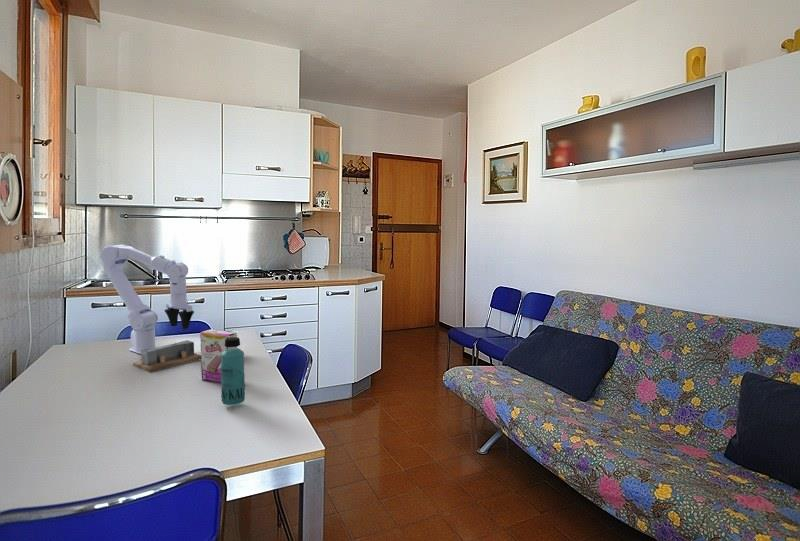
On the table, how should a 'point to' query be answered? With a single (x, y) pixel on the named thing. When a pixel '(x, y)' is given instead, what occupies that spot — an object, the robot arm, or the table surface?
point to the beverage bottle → (232, 373)
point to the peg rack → (167, 362)
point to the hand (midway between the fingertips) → (179, 327)
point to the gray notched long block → (166, 352)
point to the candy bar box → (213, 353)
